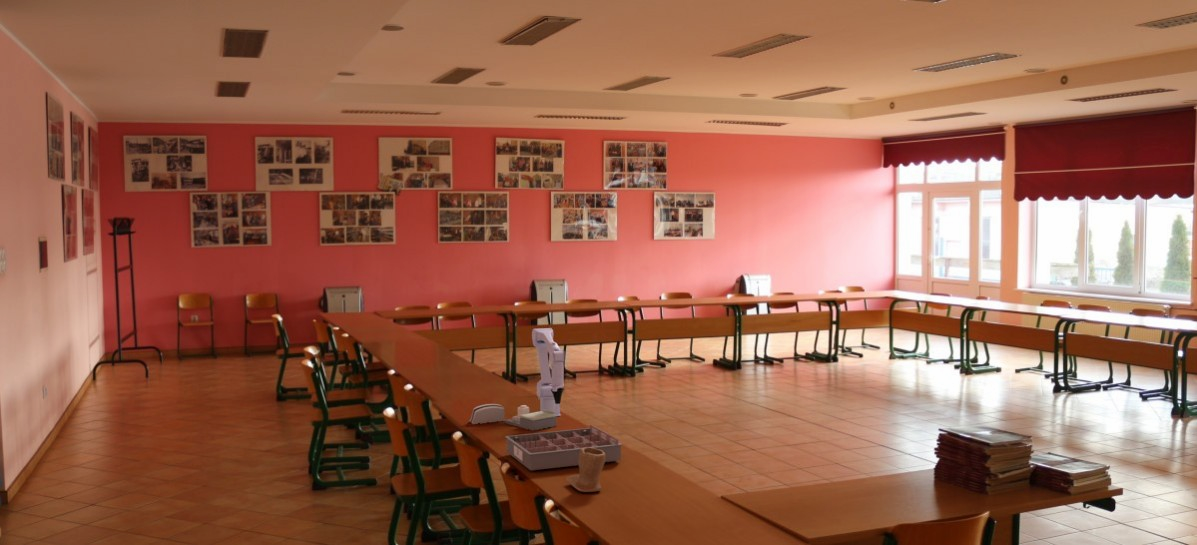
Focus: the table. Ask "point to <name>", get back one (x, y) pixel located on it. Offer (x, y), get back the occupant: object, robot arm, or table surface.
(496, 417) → the white speaker
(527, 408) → the cube with dome top
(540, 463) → the organizer tray
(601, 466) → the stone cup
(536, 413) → the lid
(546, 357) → the robot arm
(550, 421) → the housing
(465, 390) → the table surface
